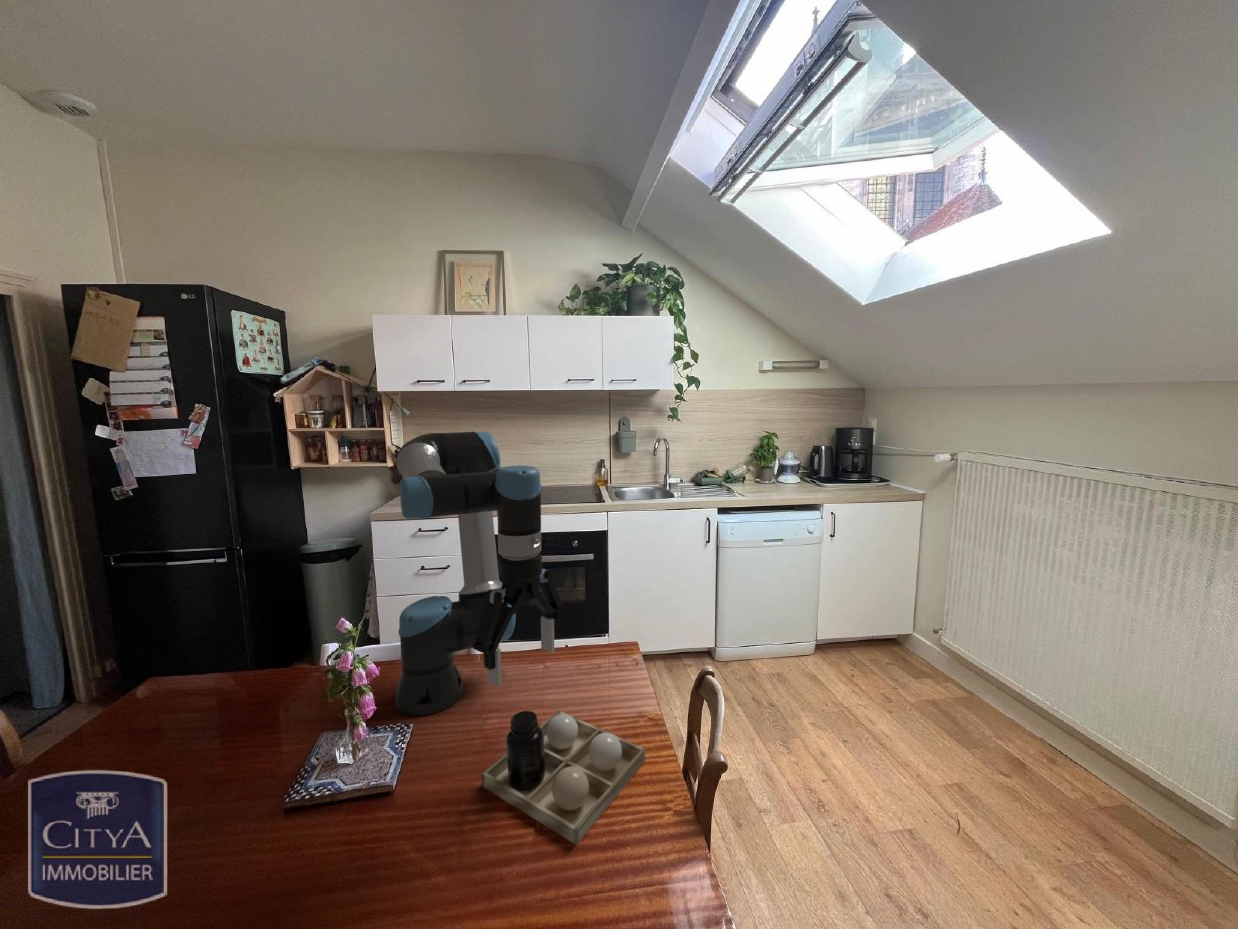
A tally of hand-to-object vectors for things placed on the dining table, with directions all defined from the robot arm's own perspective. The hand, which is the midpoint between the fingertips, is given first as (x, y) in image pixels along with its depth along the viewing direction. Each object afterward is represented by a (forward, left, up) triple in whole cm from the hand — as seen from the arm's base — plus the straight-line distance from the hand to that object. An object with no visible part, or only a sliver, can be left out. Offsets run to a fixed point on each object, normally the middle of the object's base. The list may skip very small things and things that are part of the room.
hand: (522, 666), depth 89 cm
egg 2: (+12, -1, -22) cm, 25 cm away
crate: (+6, +4, -23) cm, 24 cm away
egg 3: (+12, +10, -22) cm, 26 cm away
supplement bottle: (+1, -1, -22) cm, 22 cm away
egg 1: (+1, +10, -22) cm, 24 cm away
